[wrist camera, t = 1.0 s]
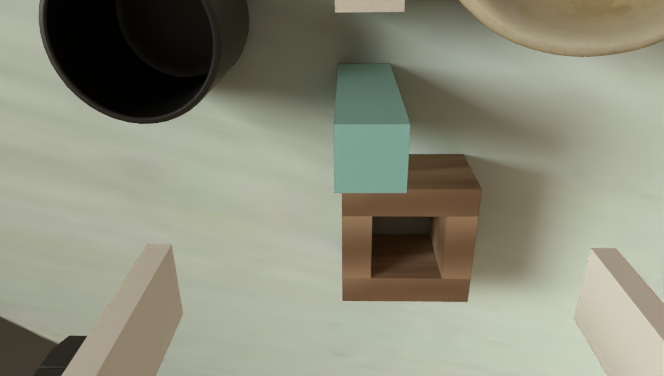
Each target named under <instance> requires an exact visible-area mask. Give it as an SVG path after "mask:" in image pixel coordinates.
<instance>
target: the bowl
mask: <svg viewBox="0 0 664 376" xmlns="http://www.w3.org/2000/svg"><path fill="white" fill-rule="evenodd" d="M459 1H460V2H461V3H462V5H463V6H464V7H465V8H466V9H467V10H468V11H470V12H471V13H472V14H473V15H474V16H475V17H476V18H477V19H478V20H479V21H480V22H482V23H483V24H484V25H485V26H486V27H488V28H489V29H491V30H492V31H494V32H495V33H497V34H499V35H500V36H502V37H504V38H506V39H508V40H510V41H512V42H514V43H516V44H519V45H522V46H525V47H528V48H531V49H534V50H538V51H541V52H545V53H551V54H557V55H564V56H578V57H584V56H586V57H591V56H603V55H612V54H617V53H622V52H628V51H632V50H637V49H640V48H644V47H647V46H650V45H653V44H656V43H658V42H660V41H663V40H664V0H459Z"/></svg>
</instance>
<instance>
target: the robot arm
mask: <svg viewBox="0 0 664 376" xmlns="http://www.w3.org/2000/svg"><path fill="white" fill-rule="evenodd" d="M182 315H183V310H182V304H181V298H180V292H179V286H178V280H177V274H176V268H175V262H174V257H173V251H172V245H171V244H147V246H146V247H145V249H144V250H143V252H142V254H141V255H140V257H139V258H138V260H137V261H136V263H135V264H134V266H133V267H132V269H131V270H130V272H129V273H128V275H127V276H126V278H125V279H124V281H123V283H122V284H121V286H120V287H119V289H118V290H117V292H116V293H115V295H114V296H113V298H112V299H111V301H110V302H109V304H108V305H107V307H106V308H105V310H104V312H103V313H102V315H101V316H100V318H99V319H98V321H97V322H96V324H95V325H94V327H93V328H92V330H91V331H90V333H89V334H88V336H68V337H67V338H66V339H65V340H63V341H62V342H61V343H60V344H58V345H57V346H56V347H54V348H53V349H52V350H51V351H50V353H49V354H48V356H47V357H46V358H45V360H44V361H43V362H42V364H41V365H40V369H37V371H36V372H35V374H34V375H33V376H156V374H157V372H158V369H159V367H160V365H161V362H162V360H163V358H164V356H165V353H166V351H167V349H168V347H169V344H170V342H171V340H172V337H173V335H174V333H175V331H176V328H177V326H178V324H179V322H180V319H181V317H182ZM574 320H575V322H576V324H577V325H578V327H579V329H580V330H581V332H582V334H583V335H584V337H585V339H586V340H587V342H588V344H589V345H590V347H591V349H592V350H593V352H594V354H595V356H596V357H597V359H598V361H599V362H600V364H601V366H602V367H603V369H604V371H605V372H606V374H607V376H664V303H663V302H662V301H661V300H660V299H659V297H658V296H657V295H656V294H655V293H654V292H653V290H652V289H651V288H650V287H649V286H648V285H647V284H646V282H645V281H644V280H643V279H642V278H641V277H640V275H639V274H638V273H637V272H636V271H635V270H634V269H633V267H632V266H631V265H630V264H629V263H628V262H627V260H626V259H625V258H624V257H623V256H622V255H621V254H620V252H619V251H618V250H617V249H616V248H591V250H590V254H589V258H588V262H587V266H586V270H585V274H584V278H583V282H582V287H581V291H580V295H579V299H578V303H577V307H576V311H575V315H574Z"/></svg>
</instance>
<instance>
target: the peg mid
mask: <svg viewBox="0 0 664 376" xmlns="http://www.w3.org/2000/svg"><path fill="white" fill-rule="evenodd" d="M404 8H405V0H335V13H340V12H404Z"/></svg>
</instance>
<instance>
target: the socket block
mask: <svg viewBox="0 0 664 376" xmlns="http://www.w3.org/2000/svg"><path fill="white" fill-rule="evenodd" d="M481 191H482V189H481V187H480V185H479V183H478V181H477V180H476V178H475V176H474V174H473V172H472V170H471V168H470V167H469V165H468V163H467V161H466V159H465V157H464V155H463V154H409V160H408V178H407V193H342V287H343V301H443V302H467V301H468V294H469V286H470V278H471V270H472V262H473V254H474V246H475V239H476V231H477V223H478V215H479V207H480V199H481ZM372 216H430V217H431V224H430V235H394V234H372Z"/></svg>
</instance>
